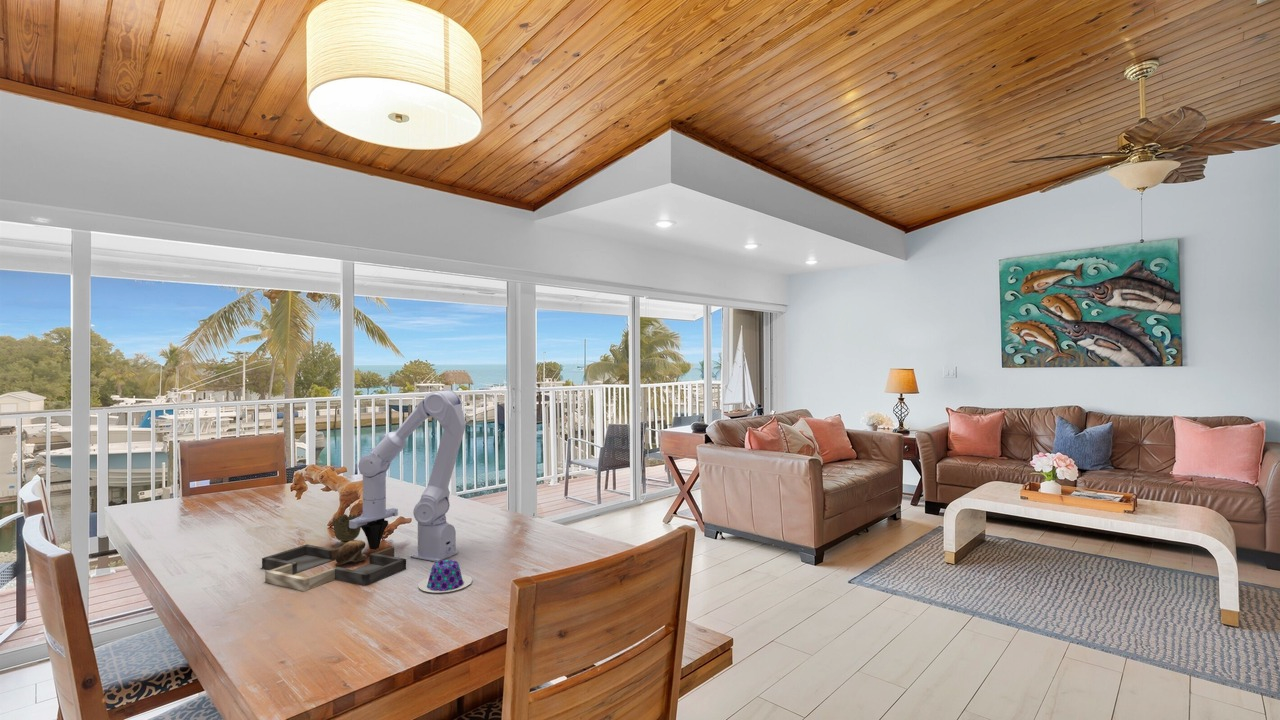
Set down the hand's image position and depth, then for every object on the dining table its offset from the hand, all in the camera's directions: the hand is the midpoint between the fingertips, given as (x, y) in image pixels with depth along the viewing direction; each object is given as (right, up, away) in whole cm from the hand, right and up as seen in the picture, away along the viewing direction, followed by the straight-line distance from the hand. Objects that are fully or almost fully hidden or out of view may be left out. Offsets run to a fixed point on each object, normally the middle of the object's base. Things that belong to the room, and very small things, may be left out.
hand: (374, 548), depth 164 cm
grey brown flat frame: (-5, -1, -12) cm, 13 cm away
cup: (-11, -2, +7) cm, 13 cm away
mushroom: (-3, -2, -7) cm, 8 cm away
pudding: (+26, -2, -22) cm, 34 cm away
